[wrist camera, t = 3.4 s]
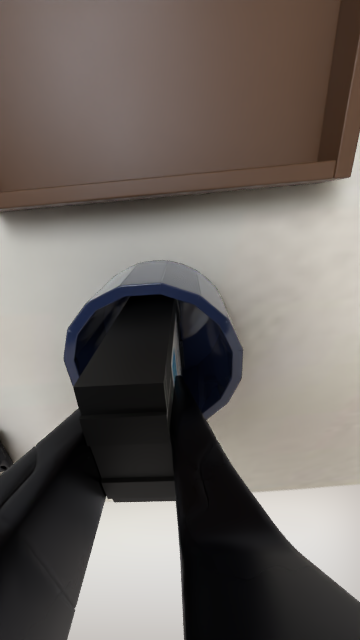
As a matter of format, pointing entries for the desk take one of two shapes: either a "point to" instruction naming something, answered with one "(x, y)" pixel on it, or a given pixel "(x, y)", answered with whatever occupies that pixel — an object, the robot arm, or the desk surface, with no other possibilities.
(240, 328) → the desk surface
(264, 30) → the tray
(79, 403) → the ink cartridge
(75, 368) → the cup
